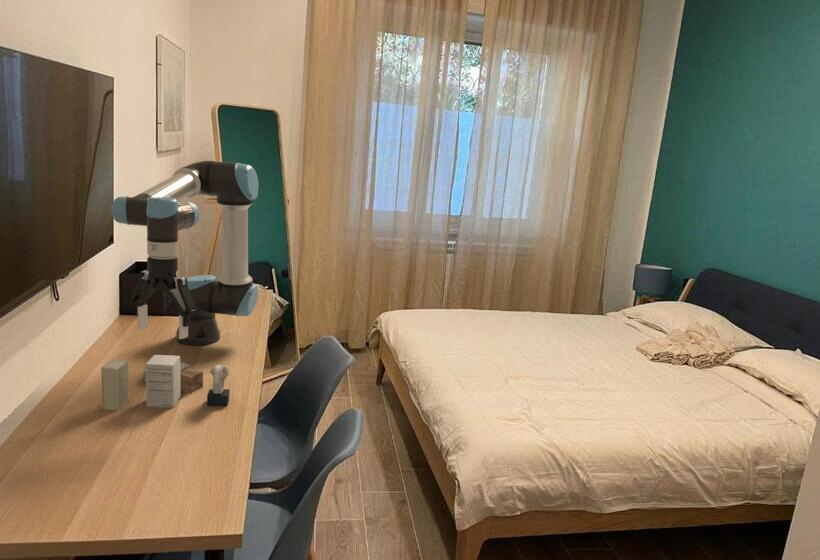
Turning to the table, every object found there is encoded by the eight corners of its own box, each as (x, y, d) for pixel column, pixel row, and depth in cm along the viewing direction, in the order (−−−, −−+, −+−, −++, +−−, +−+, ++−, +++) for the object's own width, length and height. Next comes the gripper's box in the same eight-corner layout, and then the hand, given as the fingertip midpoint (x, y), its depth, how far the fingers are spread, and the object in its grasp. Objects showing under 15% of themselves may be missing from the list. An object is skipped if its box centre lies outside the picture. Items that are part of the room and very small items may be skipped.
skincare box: (113, 400, 164) (112, 358, 162) (129, 401, 164) (128, 360, 162) (101, 409, 158) (100, 367, 156) (117, 411, 158) (116, 368, 156)
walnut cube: (189, 383, 179) (189, 368, 178) (202, 387, 178) (203, 371, 177) (177, 389, 175) (177, 373, 173) (191, 393, 173) (191, 377, 172)
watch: (230, 396, 173) (230, 360, 170) (226, 408, 165) (227, 371, 163) (210, 396, 172) (210, 360, 169) (205, 408, 164) (206, 371, 162)
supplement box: (154, 395, 169) (154, 354, 166) (181, 397, 170) (181, 355, 167) (145, 407, 162) (144, 363, 159) (173, 408, 163) (173, 365, 160)
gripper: (114, 251, 157) (115, 328, 162) (192, 265, 149) (191, 345, 154) (135, 248, 164) (136, 321, 169) (211, 261, 156) (210, 337, 161)
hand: (162, 333), depth 161 cm, fingers open, 13 cm apart
